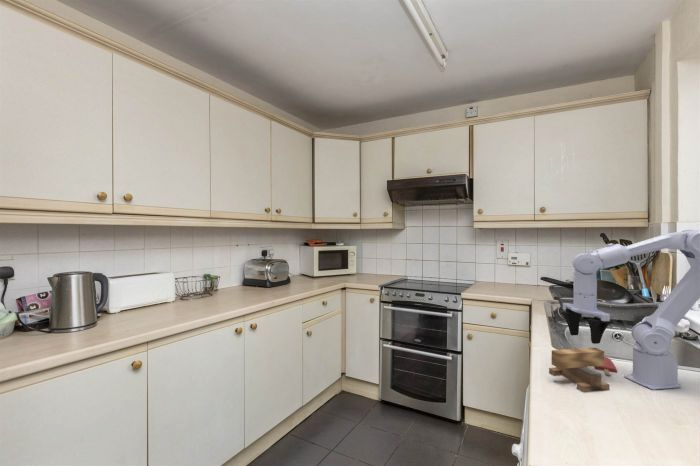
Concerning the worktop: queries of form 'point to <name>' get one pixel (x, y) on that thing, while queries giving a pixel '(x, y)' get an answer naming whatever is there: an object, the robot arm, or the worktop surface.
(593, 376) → the ridge
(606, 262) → the robot arm
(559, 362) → the oak bar
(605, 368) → the popsicle
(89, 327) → the worktop surface
